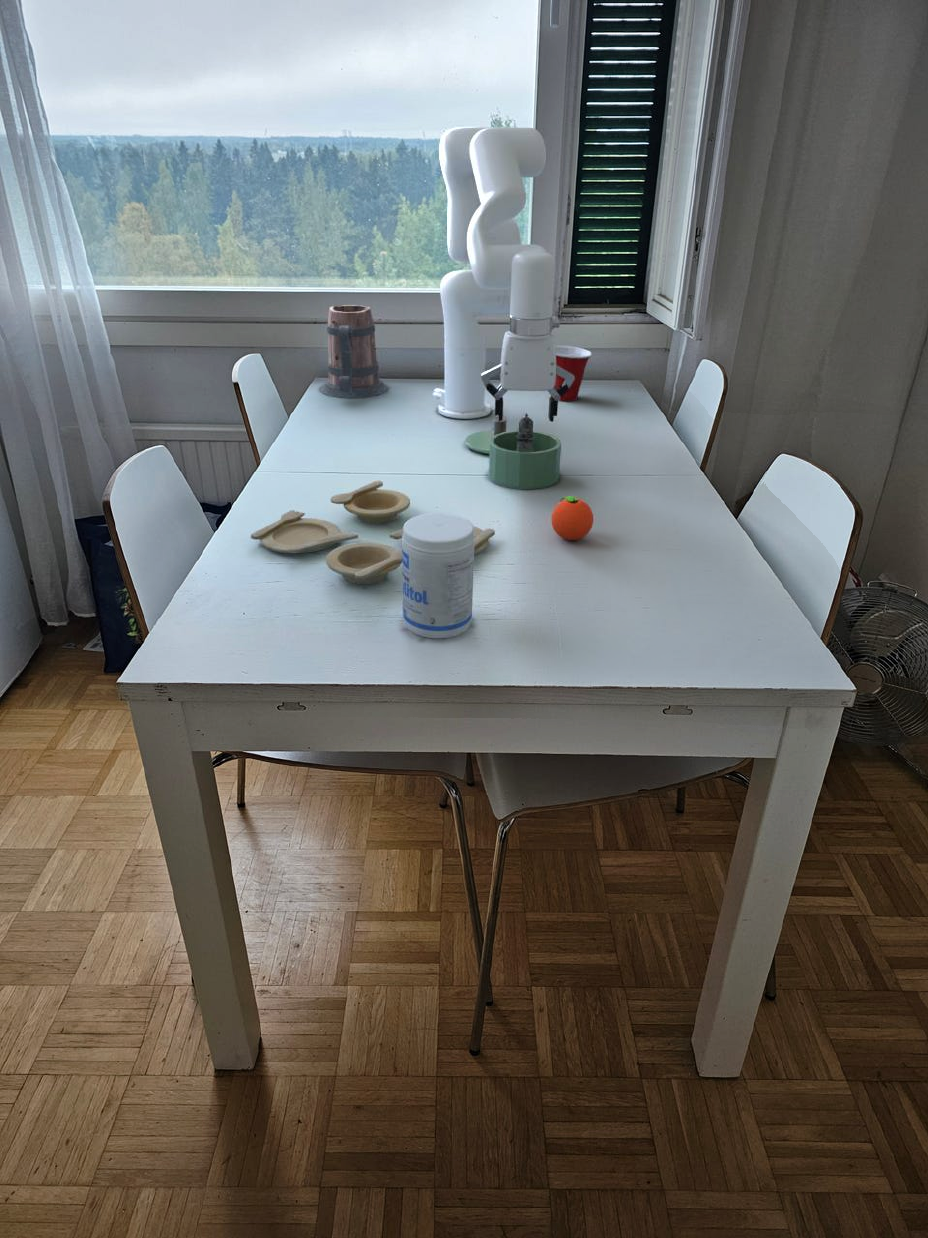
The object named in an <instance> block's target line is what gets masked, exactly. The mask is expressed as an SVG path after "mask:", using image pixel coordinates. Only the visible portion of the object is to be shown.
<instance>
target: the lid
mask: <svg viewBox="0 0 928 1238" xmlns="http://www.w3.org/2000/svg"><path fill="white" fill-rule="evenodd" d="M492 422H493V423H492V427H493V428H492V429H487V430H480V431H476V432H473V433H470V434H469V435H467V436H466V438H465V441H464V443H465V446H466V447H467V448H469V449H471V450H472V451H475V452H479V453H483V454H488V455H489V444H490V438H492V437H493V436H494V435H497V434H500V433H503V432H509V431H510V430H509V429H508V430H507V426H508V425H507V424H508V420H507V418H504V417H503V420H501V421H499V419H498V417H497V418H496V417H495V418H493V421H492Z"/></svg>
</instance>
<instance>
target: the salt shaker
mask: <svg viewBox="0 0 928 1238" xmlns="http://www.w3.org/2000/svg"><path fill="white" fill-rule="evenodd" d="M517 429H518V430H517V431H518V435H517V436H516V438H517V439H518V442H517V449H516V451H518V452H534V451H533V439H534V438H535V437H534V436H533V431H534V420H533V419H532V418H530V417H529V414H528V413H527V412H526V413H525V414H524V417H522V418H520V419H519V420H518V428H517Z"/></svg>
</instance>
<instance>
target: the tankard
mask: <svg viewBox="0 0 928 1238" xmlns="http://www.w3.org/2000/svg"><path fill="white" fill-rule="evenodd" d="M327 318H328V319H327V323H326V333H327V352H328V353H327V356H328V357H327V359H328V362H327V372H328V379H326V380H325V382H324V384H323V386H322V387H321V389H320V390H321V392H322V393H323V394H325V395H327V396H330V397H336V398H343V399H345V398H346V399H358V398H360V399H361V398H369V397H374V396H379V395H381V394H383V393H385V392H386V391H388V387H387V385H385V384H384V382H383V380H382V379H381V378H380V377H379V362H378V361H377V348H376V334H375V332H376V324H375V322H374V319H373V318H374V317H373V314H372V308H371V307H370V306H366V305H365V306H364V305H359V304H343V305H339V306H338V305H337V306H335V305H334V306H330V307H329V308H328V317H327Z"/></svg>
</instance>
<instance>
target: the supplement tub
mask: <svg viewBox="0 0 928 1238" xmlns="http://www.w3.org/2000/svg"><path fill="white" fill-rule="evenodd" d="M473 526H474V525H473V523H472V522H471V521H470V520H468V519H467V518H465V517H463V516H461V515H456V514H453V513H447V512H445V513H444V512H429V513H422V514H419V515H416V516H413V517H411V518H409V519H408V520H407V521H405V523H404V524H403V527H402V529H403V536H402V538H401V549H402V563H401V573H402V574H401V577H402V580H401V586H402V588H401V589H402V620H403V621H402V622H403V623H404V626H405V628H407V629H408V630H409V631H410V632H411V633H413V634H415V635H416V636H420V637H423V638H429V639H447V638H452V637H456V636H458V635H460V634H462V633H464V632H465V631H467V629H469V627H470V626H471V623H472V620H473V598H474V597H473V595H474V593H473V592H474V570H475V567H474V566H475V555H474V539H475V537H474V527H473Z"/></svg>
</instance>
